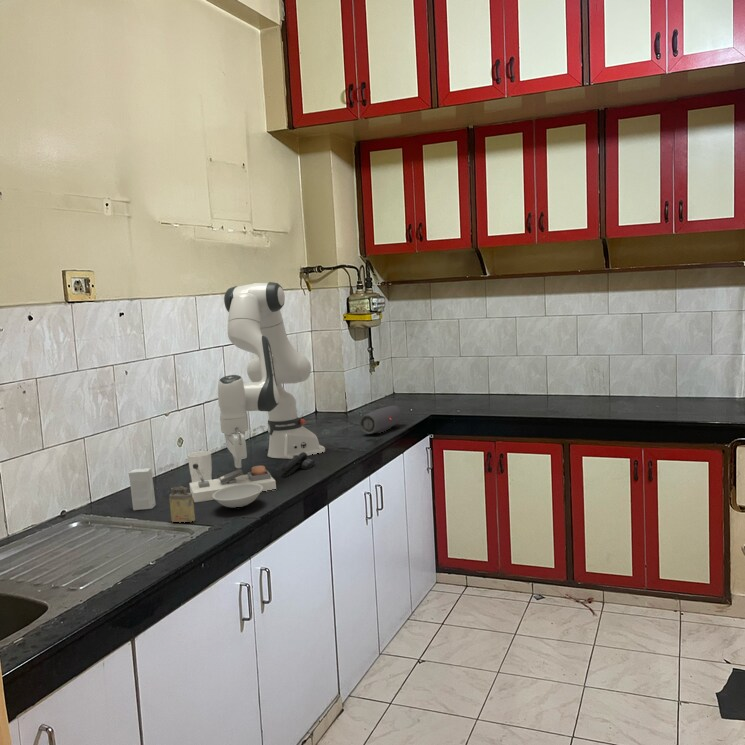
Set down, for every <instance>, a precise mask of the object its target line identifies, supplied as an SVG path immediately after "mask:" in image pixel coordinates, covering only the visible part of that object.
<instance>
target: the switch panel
mask: <svg viewBox="0 0 745 745" xmlns="http://www.w3.org/2000/svg"><path fill="white" fill-rule="evenodd" d="M265 471H266V474H263V475H256V476H253V475H252V471H249V472H247V474H243V475H241V476H238V477H236V478H233V479H231V480H229V481H226V482H224V483H221V482H220V480H219V478H214V479H212V480H206V481H204V482H202V481H199V482H192V481H191V482H189V491H190V492H189V493H192V497H193V503H201V502H207V501H213V500H215V499H213V498H212V495H213V493H215V492H216V491H218V490H220V489H222V488H225V487H229V486H233V485H238V484H248V483H252V484H259V485H262V486H263V490H262V491H266V492H268V491H267V490H272V489H276V490H277V484H276V483H277V482H276V479H275V478H274V477H273V476H272V475H271V473H270V472H269V470H268V469H265ZM272 491H273V490H272Z"/></svg>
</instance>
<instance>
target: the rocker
mask: <svg viewBox="0 0 745 745" xmlns="http://www.w3.org/2000/svg"><path fill="white" fill-rule="evenodd" d="M243 471H244V470H242V468H237V470H233V471H231V472H229V473H227V474H223V475H221V476H219V477H218V479H219V480H220V482H221V483H224V482H226V481H229V480H231V479H233V478H236V477H238V476H241V475H244V472H243Z"/></svg>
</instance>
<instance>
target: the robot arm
mask: <svg viewBox="0 0 745 745" xmlns="http://www.w3.org/2000/svg"><path fill="white" fill-rule="evenodd" d="M285 299H286V296H285V291H284V289H283V287H282V286H281V284H279V283H278V282H273V281H272V282H271V281H270V282H256V283H255V282H253V283H250V284H243V285H239V286H237V285H235V286H232V287H230V288H228V289H227V290H226V291H225V293H224V296H223V300H224V301H223V302H224V308H225V309H226V311H227V312H228V318H227V336H228V340H229V341H230V342H231V343H232V344H233V346H235V347H236V348H238V349H239V350H242V351H245V352H249V353H252V354H254V355H256V356H257V357H254V358H252V359H250V360H249V362H248V364H247V367H246V371H247V376H248V379H249V380H250V381H251V382H250V381H249V382H244V380H243V377H242V376H241V375H237V374H229V375H226V376H222V377H220V378H219V380H218V387H217V398H218V399H217V402H218V406H219V409H220V410H219V411H220V415H219V421H220V422H219V423H220V431H221V433H222V434H224V440H225V445H226V448H227V449H228V451H229V452H230V453H231V454H232V458H233V462H234V467H235V468H236V469H242V460H243V459H247V457H248V452H247V444H246V432H247V431H249V429H250V428H249V420H248V412H258V411H259V412H267V416H268V420H267V431H268V435H269V443H268V444H269V445H268V451H267V457H268V458H272V459H285V460H286V459H288V460H291V459H292V458H293V456H294V455H299V454H300V453H302V452H305V453H306V454H307V457H308V456H313V455H318V454H317V453H319V454H323V453H325V452H326V447H325V446H323V445H321V444H320V443H319V442H320V441H319V438H318V437H317V435H316V434H315V433H314V432H312V431H311V430H309V429H308V428H306V427H305V426H303V425H305V424H306V422H307V421H306V420H305V419H304V418H300V417H298V413H297V401H296V398H295V396H294V395H293V394H291V393H289V392H287V391H286V390H285V389H284V387H283V386H282V384H285V385H286V384H298V383H301V382H306V381H307V380H308V379H309V378H310V375H311V372H312V366H311V363H310V361H309V359H308V358H307V357H306V356H304V355H303V354H301V353H299V352H298V351H297V349H295V348H294V346H293V345H292V343H291V342H290V340H289V338H288V335H287V332H286V328H285V324H284V318H283V315H282V311H281V310H282V308H283V307H284V304H285ZM322 452H323V453H322ZM312 454H313V455H312Z"/></svg>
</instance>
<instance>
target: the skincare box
mask: <svg viewBox="0 0 745 745" xmlns="http://www.w3.org/2000/svg"><path fill="white" fill-rule="evenodd" d="M128 477H129V484H130V494H131V501H132V503H131V504H132V510H133V511H139V510H140V511H141V510H151V509H153V508H154V507H155V506H156V498H155V490H154V481H153V480H154V479H153V472H152V468H151V467H150V468H138V469H137V468H135V469H132V470H130V471H129V472H128Z"/></svg>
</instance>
